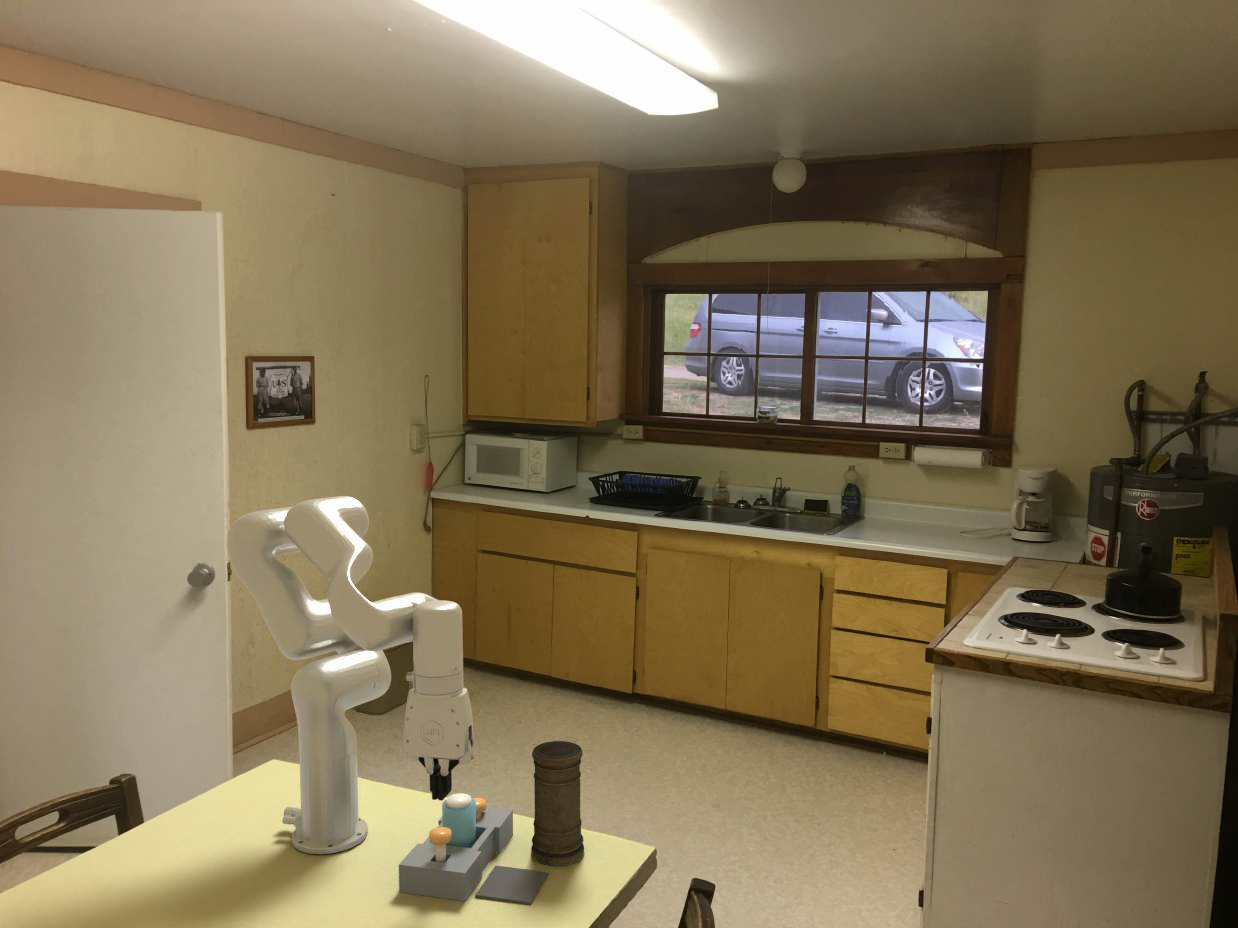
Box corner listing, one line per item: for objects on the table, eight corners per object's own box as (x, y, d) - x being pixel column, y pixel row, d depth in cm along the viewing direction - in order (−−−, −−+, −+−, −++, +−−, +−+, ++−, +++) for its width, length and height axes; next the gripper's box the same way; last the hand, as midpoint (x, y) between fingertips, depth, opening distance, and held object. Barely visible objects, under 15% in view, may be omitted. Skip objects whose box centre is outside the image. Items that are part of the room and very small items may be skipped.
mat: (475, 896, 144) (475, 894, 144) (495, 867, 153) (495, 865, 153) (530, 904, 142) (530, 901, 142) (548, 874, 151) (548, 871, 151)
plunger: (426, 873, 146) (425, 835, 145) (435, 863, 149) (434, 825, 148) (446, 876, 145) (446, 838, 144) (455, 865, 148) (454, 828, 148)
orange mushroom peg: (463, 840, 160) (462, 805, 160) (470, 830, 164) (470, 796, 163) (482, 842, 160) (481, 807, 159) (489, 832, 163) (488, 798, 162)
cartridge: (437, 867, 152) (436, 803, 152) (450, 851, 158) (450, 789, 157) (468, 871, 151) (468, 807, 150) (480, 855, 157) (480, 793, 156)
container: (577, 869, 152) (577, 762, 151) (524, 863, 154) (523, 757, 152) (589, 842, 161) (590, 741, 159) (539, 837, 163) (539, 737, 161)
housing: (399, 891, 145) (398, 864, 145) (454, 827, 166) (454, 802, 166) (465, 901, 143) (465, 872, 142) (513, 833, 164) (512, 809, 163)
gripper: (383, 685, 142) (385, 802, 144) (475, 692, 139) (477, 811, 141) (404, 671, 150) (407, 782, 151) (493, 677, 146) (494, 790, 148)
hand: (440, 796), depth 146 cm, fingers closed
